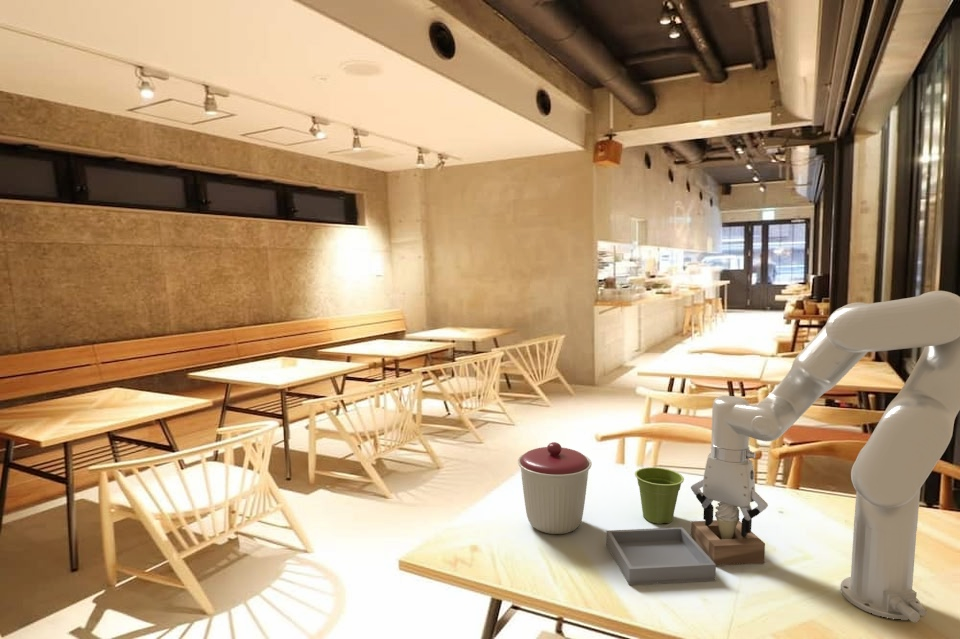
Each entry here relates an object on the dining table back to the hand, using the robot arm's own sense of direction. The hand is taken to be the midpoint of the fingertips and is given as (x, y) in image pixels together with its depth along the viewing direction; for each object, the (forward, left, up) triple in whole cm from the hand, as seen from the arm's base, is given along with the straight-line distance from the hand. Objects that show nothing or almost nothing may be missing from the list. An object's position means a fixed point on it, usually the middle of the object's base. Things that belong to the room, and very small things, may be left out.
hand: (726, 528), depth 124 cm
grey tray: (-3, +17, -5) cm, 18 cm away
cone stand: (0, 0, -5) cm, 5 cm away
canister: (+16, +36, -6) cm, 40 cm away
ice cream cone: (0, 0, -5) cm, 5 cm away
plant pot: (+17, +9, -6) cm, 20 cm away
